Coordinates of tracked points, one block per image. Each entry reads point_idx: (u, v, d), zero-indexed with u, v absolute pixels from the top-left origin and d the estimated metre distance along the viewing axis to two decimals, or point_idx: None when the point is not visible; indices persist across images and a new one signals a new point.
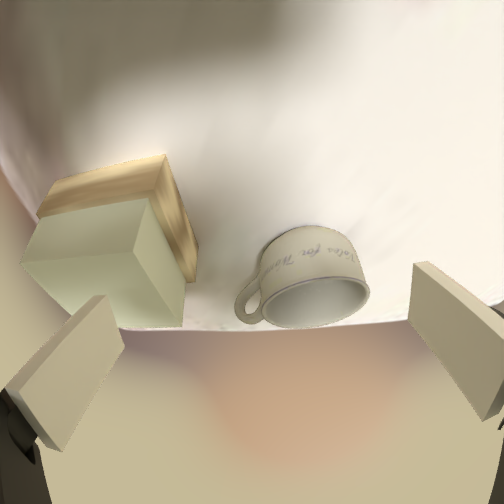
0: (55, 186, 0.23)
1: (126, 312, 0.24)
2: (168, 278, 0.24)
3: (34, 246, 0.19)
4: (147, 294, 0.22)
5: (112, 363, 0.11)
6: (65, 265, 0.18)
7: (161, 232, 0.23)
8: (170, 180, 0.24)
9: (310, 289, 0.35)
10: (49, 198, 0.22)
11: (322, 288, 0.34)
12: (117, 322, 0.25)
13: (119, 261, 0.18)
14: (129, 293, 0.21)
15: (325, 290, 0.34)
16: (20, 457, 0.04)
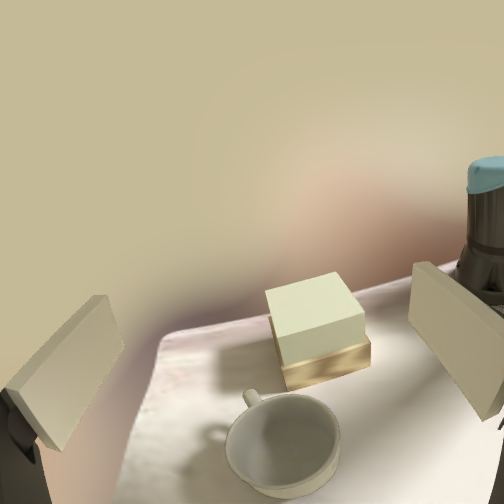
0: None
1: (295, 310, 0.38)
2: (317, 341, 0.35)
3: None
4: (323, 319, 0.35)
5: (112, 363, 0.11)
6: (341, 288, 0.39)
7: (341, 347, 0.36)
8: (356, 366, 0.37)
9: (246, 468, 0.25)
10: None
11: (249, 478, 0.24)
12: (277, 306, 0.39)
13: (354, 307, 0.35)
14: (322, 312, 0.36)
15: (249, 479, 0.23)
16: (20, 457, 0.04)
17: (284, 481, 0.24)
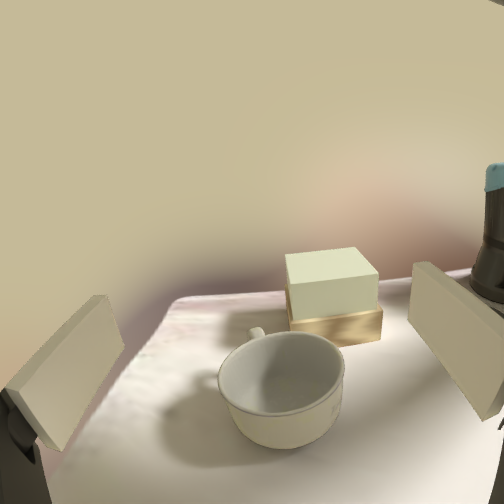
0: None
1: (312, 268, 0.39)
2: (329, 296, 0.35)
3: None
4: (337, 275, 0.35)
5: (112, 363, 0.11)
6: (358, 257, 0.40)
7: (352, 310, 0.36)
8: (366, 337, 0.36)
9: None
10: None
11: None
12: (295, 264, 0.41)
13: (368, 270, 0.35)
14: (337, 270, 0.37)
15: None
16: (20, 457, 0.04)
17: None
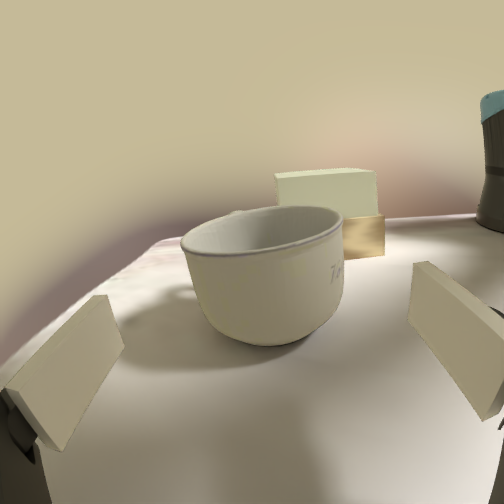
0: None
1: (302, 173, 0.35)
2: (322, 195, 0.31)
3: None
4: (329, 173, 0.31)
5: (112, 363, 0.11)
6: (353, 169, 0.36)
7: (349, 214, 0.32)
8: (368, 249, 0.32)
9: None
10: None
11: None
12: (284, 174, 0.37)
13: None
14: (330, 172, 0.33)
15: None
16: (20, 457, 0.04)
17: None
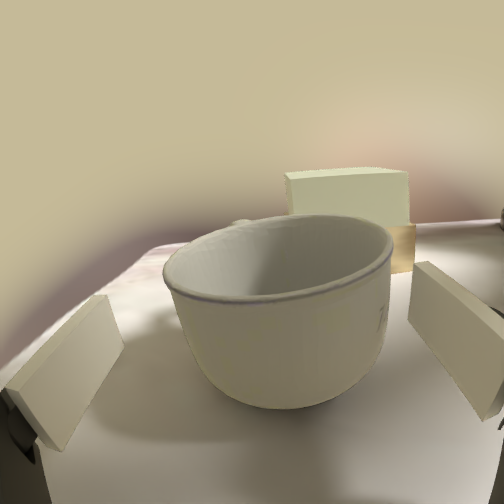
0: None
1: (319, 173, 0.28)
2: (345, 200, 0.25)
3: None
4: (353, 173, 0.25)
5: (112, 363, 0.11)
6: None
7: None
8: (396, 263, 0.26)
9: None
10: None
11: None
12: (297, 174, 0.30)
13: (393, 171, 0.25)
14: (353, 172, 0.26)
15: None
16: (20, 457, 0.04)
17: None
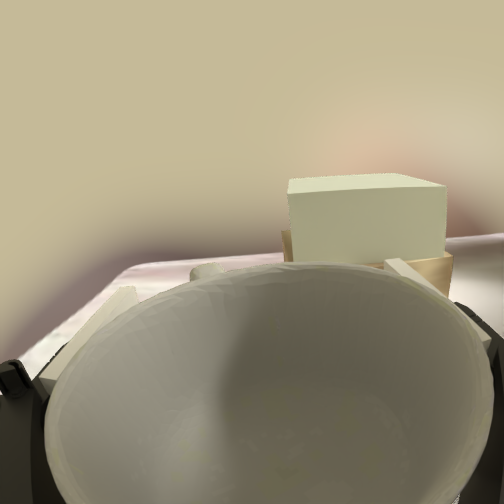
0: None
1: (330, 183, 0.22)
2: (361, 223, 0.18)
3: None
4: (375, 186, 0.18)
5: None
6: (406, 177, 0.22)
7: (403, 255, 0.18)
8: None
9: (141, 461, 0.08)
10: None
11: (137, 490, 0.07)
12: (302, 182, 0.24)
13: (427, 184, 0.18)
14: (374, 183, 0.19)
15: (133, 492, 0.06)
16: None
17: None
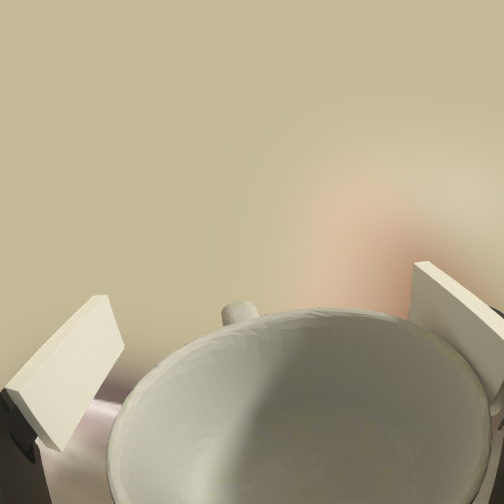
0: None
1: None
2: None
3: None
4: None
5: (112, 363, 0.11)
6: None
7: None
8: None
9: (180, 488, 0.09)
10: None
11: None
12: None
13: None
14: None
15: None
16: (20, 457, 0.04)
17: None
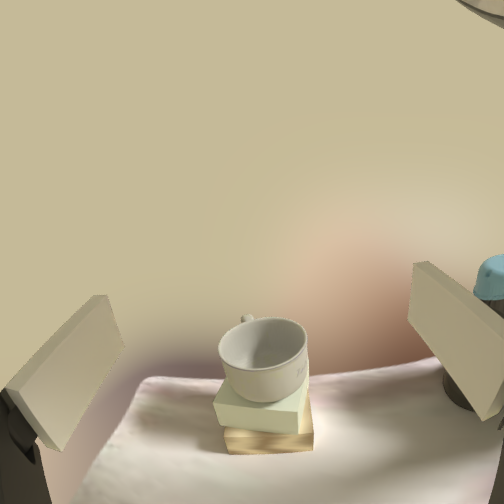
0: None
1: None
2: (248, 418, 0.34)
3: (307, 370, 0.41)
4: (258, 402, 0.34)
5: (112, 363, 0.11)
6: None
7: (272, 431, 0.34)
8: (298, 448, 0.34)
9: None
10: None
11: None
12: None
13: (292, 403, 0.33)
14: None
15: None
16: (20, 457, 0.04)
17: None
